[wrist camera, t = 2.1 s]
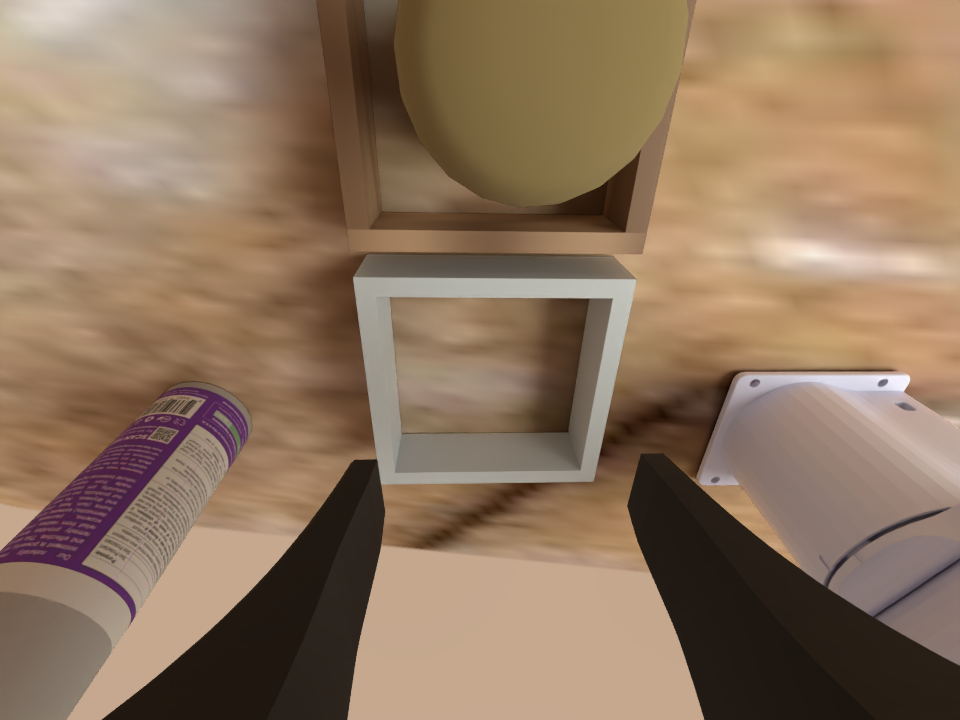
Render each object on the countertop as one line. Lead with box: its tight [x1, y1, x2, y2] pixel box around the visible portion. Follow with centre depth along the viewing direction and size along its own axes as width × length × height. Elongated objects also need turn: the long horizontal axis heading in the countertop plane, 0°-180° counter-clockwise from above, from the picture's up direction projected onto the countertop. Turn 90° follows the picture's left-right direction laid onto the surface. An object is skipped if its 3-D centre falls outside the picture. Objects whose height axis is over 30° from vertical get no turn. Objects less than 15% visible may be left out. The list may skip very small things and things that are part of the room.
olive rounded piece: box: [394, 0, 689, 207], centre depth 11 cm, size 6×6×11 cm
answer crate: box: [353, 254, 637, 485], centre depth 21 cm, size 11×11×3 cm
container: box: [0, 382, 252, 720], centre depth 17 cm, size 5×5×15 cm
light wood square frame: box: [317, 0, 696, 254], centre depth 15 cm, size 11×11×3 cm
